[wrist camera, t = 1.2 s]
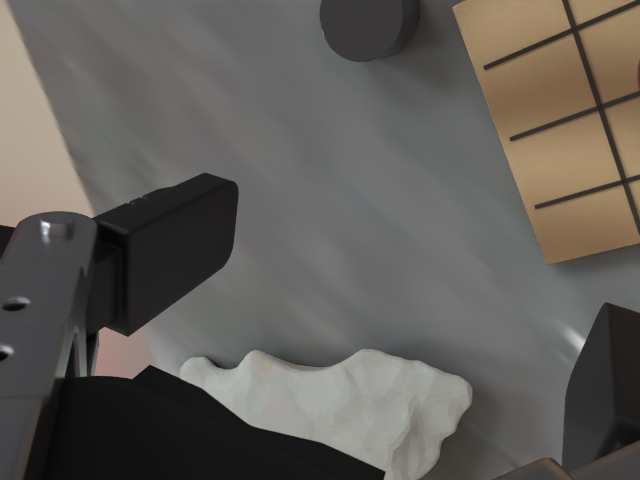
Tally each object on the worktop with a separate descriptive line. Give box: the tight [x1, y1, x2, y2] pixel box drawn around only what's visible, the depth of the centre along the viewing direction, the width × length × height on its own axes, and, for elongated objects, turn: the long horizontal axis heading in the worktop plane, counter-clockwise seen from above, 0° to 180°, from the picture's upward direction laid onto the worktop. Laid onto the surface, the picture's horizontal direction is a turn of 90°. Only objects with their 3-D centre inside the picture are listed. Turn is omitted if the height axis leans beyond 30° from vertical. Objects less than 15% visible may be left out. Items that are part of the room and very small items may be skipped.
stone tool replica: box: [180, 349, 472, 480], centre depth 42 cm, size 15×5×25 cm
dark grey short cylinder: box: [320, 0, 419, 62], centre depth 31 cm, size 5×5×3 cm
